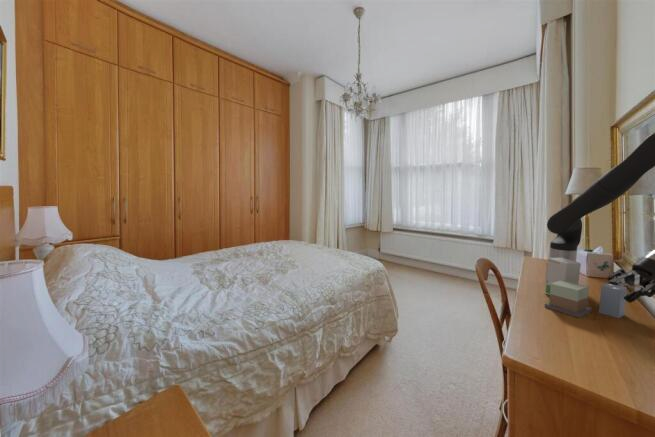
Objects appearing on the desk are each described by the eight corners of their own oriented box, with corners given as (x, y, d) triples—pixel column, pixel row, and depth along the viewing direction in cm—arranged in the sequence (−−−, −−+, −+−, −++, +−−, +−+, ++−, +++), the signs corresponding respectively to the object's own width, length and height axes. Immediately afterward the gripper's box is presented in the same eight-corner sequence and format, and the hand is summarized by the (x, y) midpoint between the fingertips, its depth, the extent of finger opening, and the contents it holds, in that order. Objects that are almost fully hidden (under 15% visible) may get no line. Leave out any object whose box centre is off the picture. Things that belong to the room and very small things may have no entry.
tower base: (544, 306, 101) (546, 283, 100) (557, 301, 106) (559, 278, 105) (578, 317, 92) (580, 291, 91) (591, 311, 97) (593, 286, 96)
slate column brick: (598, 312, 96) (601, 285, 95) (604, 309, 98) (607, 283, 97) (618, 318, 91) (621, 290, 90) (624, 315, 94) (627, 287, 93)
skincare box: (544, 293, 114) (546, 257, 112) (558, 292, 115) (560, 257, 113) (563, 301, 106) (566, 263, 104) (578, 300, 106) (581, 262, 105)
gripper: (628, 252, 98) (590, 281, 101) (671, 262, 84) (626, 295, 87) (644, 266, 98) (605, 295, 101) (689, 279, 84) (643, 312, 87)
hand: (615, 295), depth 94 cm, fingers open, 8 cm apart
